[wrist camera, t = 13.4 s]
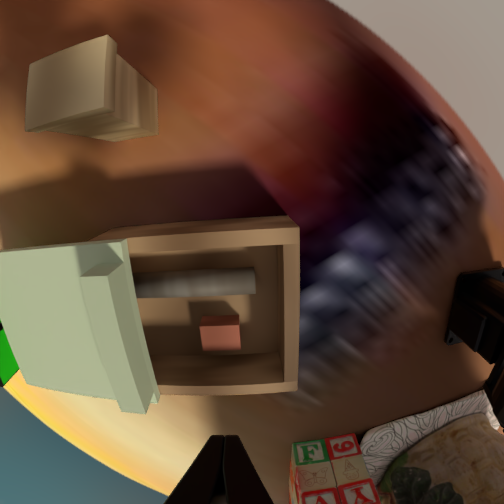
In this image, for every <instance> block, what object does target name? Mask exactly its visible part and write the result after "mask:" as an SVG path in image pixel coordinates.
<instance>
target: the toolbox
mask: <svg viewBox="0 0 504 504" xmlns="http://www.w3.org/2000/svg"><path fill="white" fill-rule="evenodd" d="M126 238H127V244H128V251H129V258H130V264H131V271H132V276H133V282H134V288H135V293H136V298H137V303H138V308H139V313H140V318H141V323H142V327H143V331H144V336H145V340H146V344H147V348H148V352H149V356H150V360H151V364H152V368H153V371H154V375H155V379H156V382H157V386H158V389H159V393H160V394H163V395H246V394H264V393H277V392H288V391H297V385H298V358H299V315H300V239H299V227H298V226H297V225H296V224H295V223H294V222H293V221H292V220H291V219H290V218H289V217H288V216H268V217H249V218H231V219H215V220H200V221H186V222H172V223H160V224H148V225H136V226H125V227H115V228H113V229H111V230H109V231H107V232H105V233H102V234H100V235H98V236H96V237H94V238H92V239H90V240H88V241H87V242H89V241H101V240H113V239H126Z"/></svg>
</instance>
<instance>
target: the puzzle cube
mask: <svg viewBox="0 0 504 504" xmlns="http://www.w3.org/2000/svg"><path fill="white" fill-rule="evenodd" d="M19 369H20V368H19V366H18V364H17V361H16V359H15V357H14V354H13V352H12V349H11V347H10V344H9V342H8V339H7V336H6V334H5V331H4V328H3V325H2V323H1V320H0V387H3V386H4V385H5V384H6V383H7V382H8V381H9V380H10V379H11V377H12V376H13V375H14V374H15V373H16V372H17V371H18V370H19Z"/></svg>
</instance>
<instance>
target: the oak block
mask: <svg viewBox="0 0 504 504" xmlns="http://www.w3.org/2000/svg"><path fill="white" fill-rule="evenodd" d="M45 130H46V131H53V132H60V133H66V134H72V135H78V136H84V137H90V138H96V139H101V140H107V141H112V142H117V141H123V140H128V139H134V138H140V137H147V136H153V135H159V133H158V98H157V89H156V88H155V87H154V86H153V85H152V84H151V83H150V82H148V81H147V80H146V79H145V78H144V77H143V76H142V75H141V74H140V73H138V72H137V71H136V70H135V69H134V68H133V67H132V66H131V65H129V64H128V63H127V62H126V61H125V60H124V59H123V58H121V57H120V56H119V55H118V54H117V43H116V42H115V41H114V40H113V39H112V38H111V37H110V36H109V35H105V36H101V37H98V38H95V39H92V40H89V41H86V42H83V43H80V44H77V45H75V46H72V47H69V48H67V49H64V50H61V51H59V52H56V53H54V54H52V55H49V56H47V57H45V58H42V59H40V60H38V61H36V62H34V63H31V64H30V66H29V74H28V83H27V95H26V111H25V131H28V132H37V133H39V132H42V131H45Z"/></svg>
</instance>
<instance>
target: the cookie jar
mask: <svg viewBox="0 0 504 504" xmlns="http://www.w3.org/2000/svg"><path fill="white" fill-rule="evenodd" d="M499 426H500V424H499V422H498V420H497V418H496V417H495V415H494V414H493V411H492V407H491V404H490V402H489V400H488V398H487V395H486V393H485V391H484V390H481V391H477V392H475V393H473V394H471V395H468V396H466V397H464V398H461V399H459V400H456V401H454V402H451V403H449V404H445V405H443V406H440V407H437V408H435V409H432V410H430V411H427V412H424V413H421V414H417V415H413V416H408V417H405V418H402V419H398V420H395V421H392V422H389V423H386V424H383V425H381V426H378V427H375V428H372V429H370V430H369V431H367V432H366V433H365V435H364V437H363V439H362V441H361V444H360V449H361V451H362V456H363V458H364V461H365V463H366V466H367V469H368V471H369V474H370V476H371V479H372V480H373V483H374V485H375V488H376V490H377V493H378V496H379V499H380V502H381V504H504V435H502V434H500V433H499V432H498V431H497V429H498V428H499Z"/></svg>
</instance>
